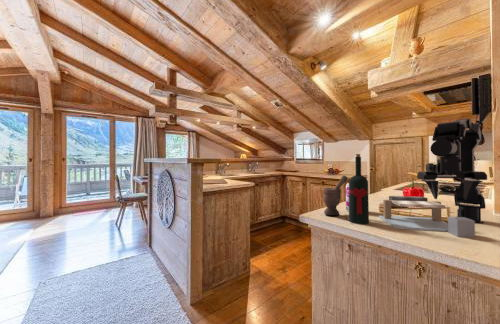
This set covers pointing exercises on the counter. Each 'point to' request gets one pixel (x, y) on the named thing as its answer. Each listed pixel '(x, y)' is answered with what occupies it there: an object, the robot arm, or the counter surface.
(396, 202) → the trapdoor
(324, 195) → the mortar and pestle
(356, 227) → the counter surface
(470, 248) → the counter surface
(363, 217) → the wine bottle
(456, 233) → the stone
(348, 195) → the supplement can
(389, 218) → the frame
